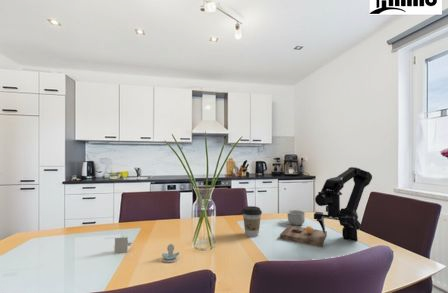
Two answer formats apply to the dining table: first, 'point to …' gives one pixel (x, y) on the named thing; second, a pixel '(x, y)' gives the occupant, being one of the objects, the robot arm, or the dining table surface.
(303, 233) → the pocket board
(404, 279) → the dining table surface
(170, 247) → the pacifier
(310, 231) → the ball
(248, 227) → the coffee cup
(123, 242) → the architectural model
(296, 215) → the teacup
